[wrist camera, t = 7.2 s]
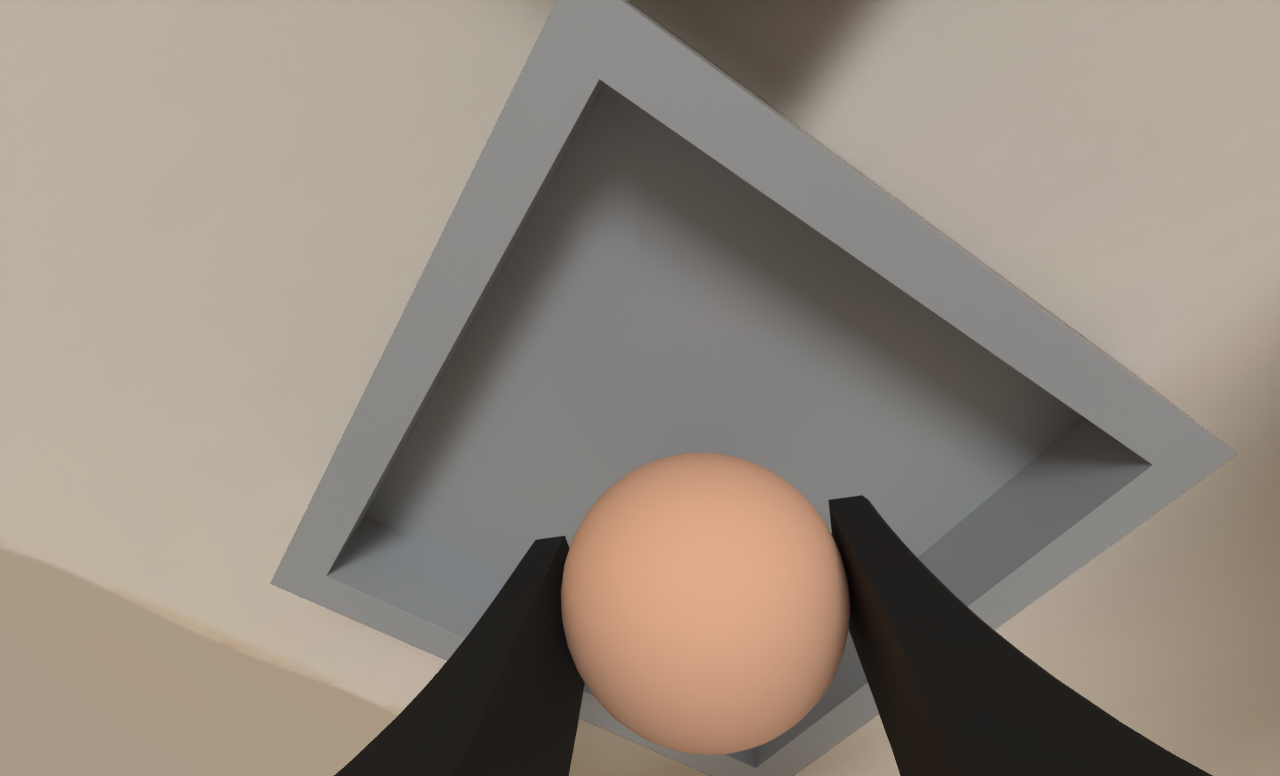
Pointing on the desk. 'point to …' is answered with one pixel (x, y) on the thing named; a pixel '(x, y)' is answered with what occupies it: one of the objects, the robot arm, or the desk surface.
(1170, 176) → the desk surface
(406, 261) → the desk surface
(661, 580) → the ball
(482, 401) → the tray
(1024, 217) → the desk surface
